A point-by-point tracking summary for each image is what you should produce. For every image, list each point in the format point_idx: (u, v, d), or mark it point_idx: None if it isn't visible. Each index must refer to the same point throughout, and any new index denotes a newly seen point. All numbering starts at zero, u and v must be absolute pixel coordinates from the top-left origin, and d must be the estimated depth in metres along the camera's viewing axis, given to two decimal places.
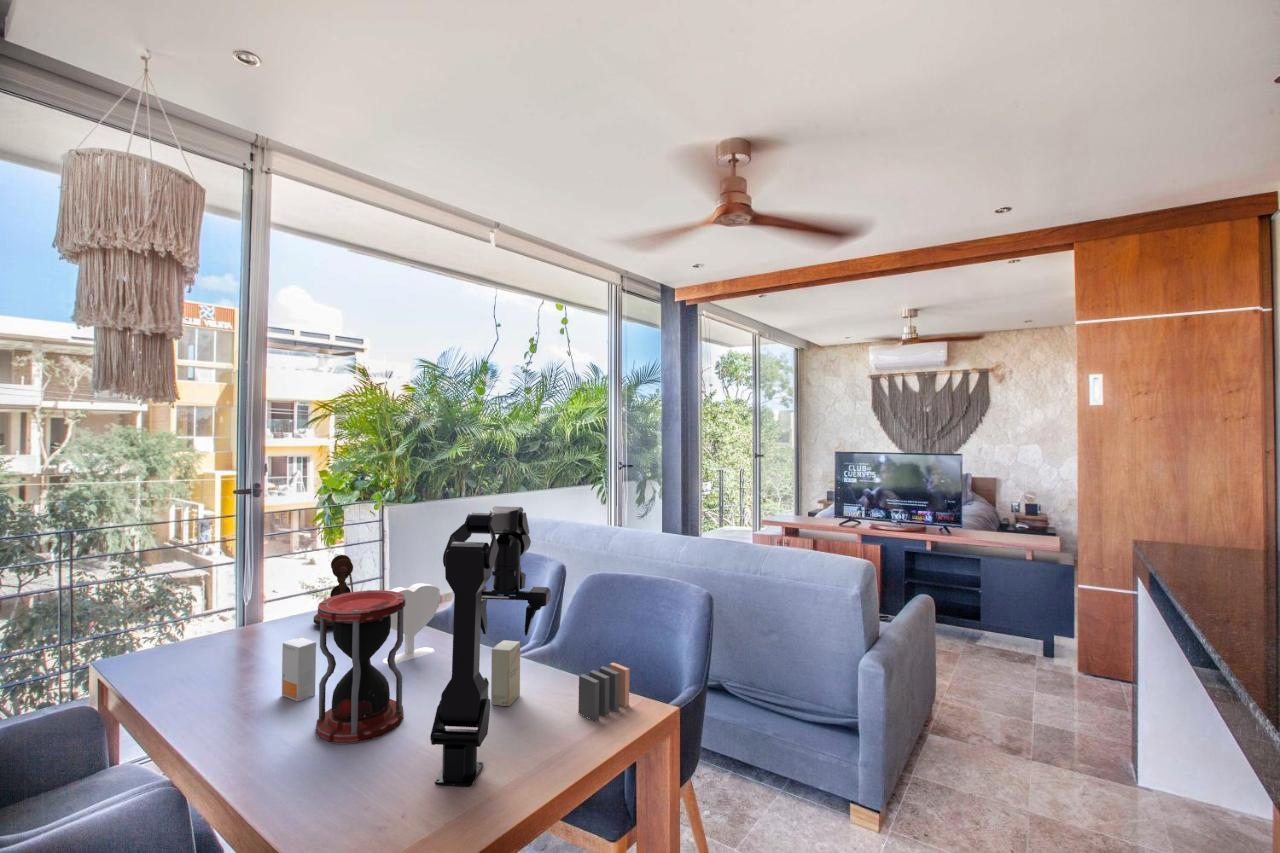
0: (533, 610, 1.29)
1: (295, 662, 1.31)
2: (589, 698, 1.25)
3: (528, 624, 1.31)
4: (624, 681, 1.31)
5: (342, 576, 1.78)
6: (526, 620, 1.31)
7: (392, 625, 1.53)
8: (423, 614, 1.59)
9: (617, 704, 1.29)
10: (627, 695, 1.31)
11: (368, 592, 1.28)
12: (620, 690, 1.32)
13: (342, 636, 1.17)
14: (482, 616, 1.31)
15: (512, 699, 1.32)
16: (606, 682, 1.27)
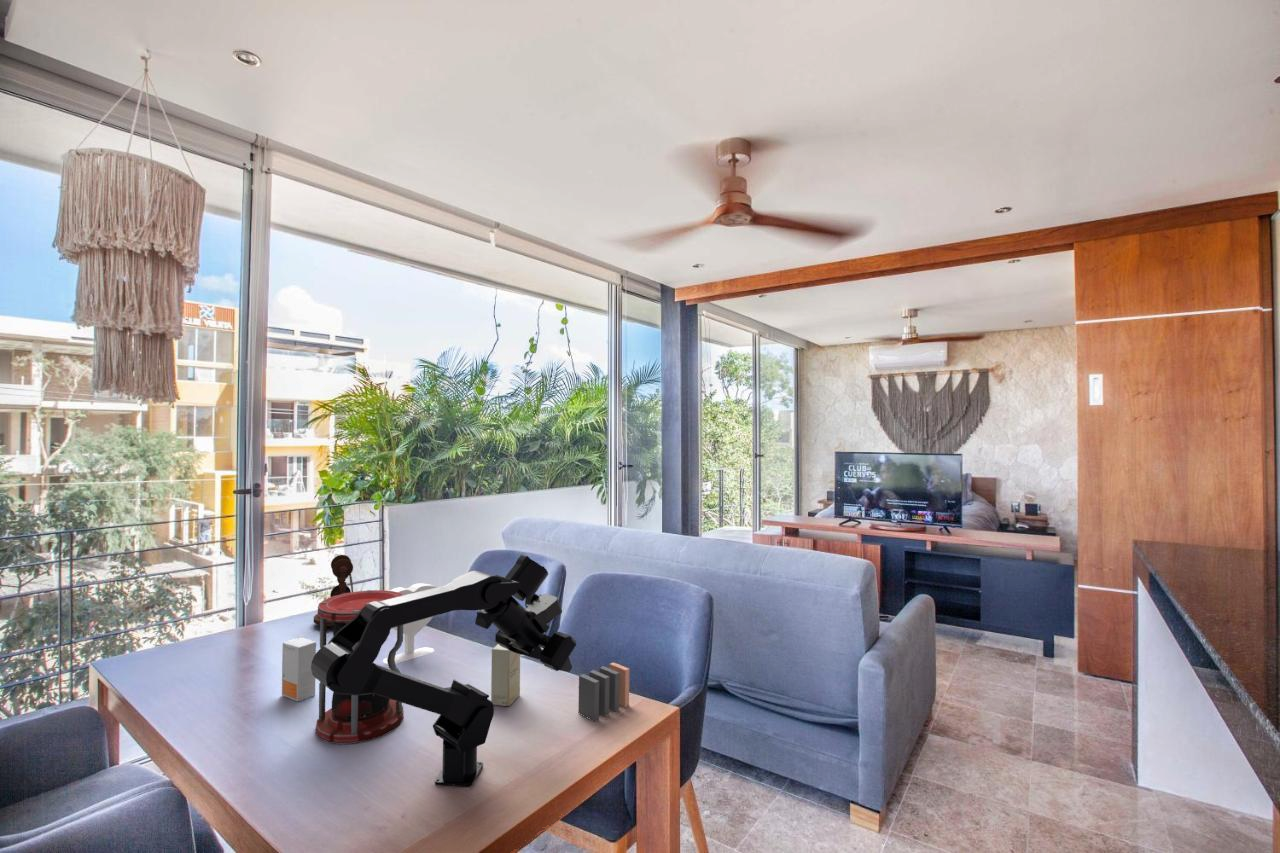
0: (551, 668, 1.11)
1: (295, 662, 1.31)
2: (589, 698, 1.25)
3: None
4: (624, 681, 1.31)
5: (342, 576, 1.78)
6: None
7: None
8: None
9: (617, 704, 1.29)
10: (627, 695, 1.31)
11: (368, 592, 1.28)
12: (620, 690, 1.32)
13: None
14: (527, 653, 1.20)
15: (512, 699, 1.32)
16: (606, 682, 1.27)
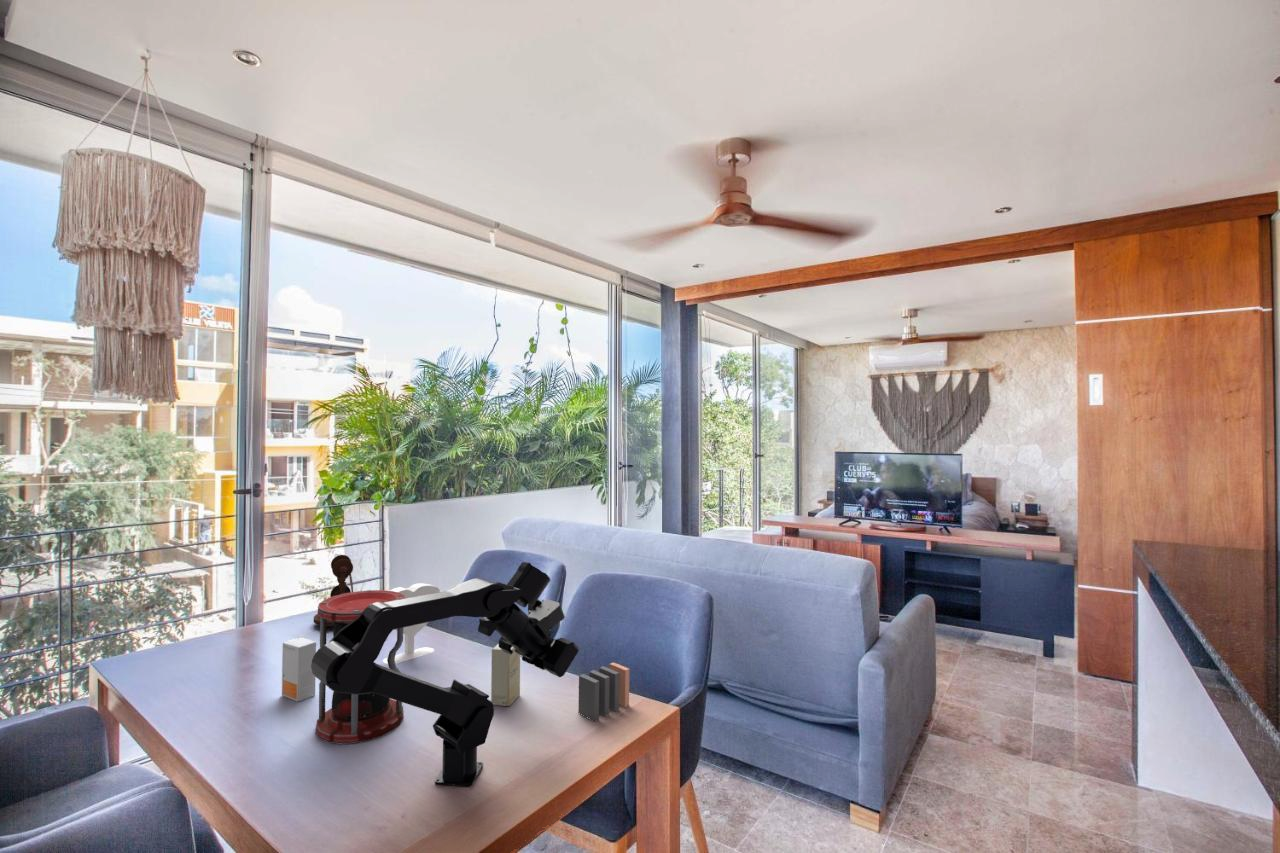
0: (541, 668, 1.14)
1: (295, 662, 1.31)
2: (589, 698, 1.25)
3: None
4: (624, 681, 1.31)
5: (342, 576, 1.78)
6: None
7: None
8: None
9: (617, 704, 1.29)
10: (627, 695, 1.31)
11: (368, 592, 1.28)
12: (620, 690, 1.32)
13: None
14: None
15: (512, 699, 1.32)
16: (606, 682, 1.27)
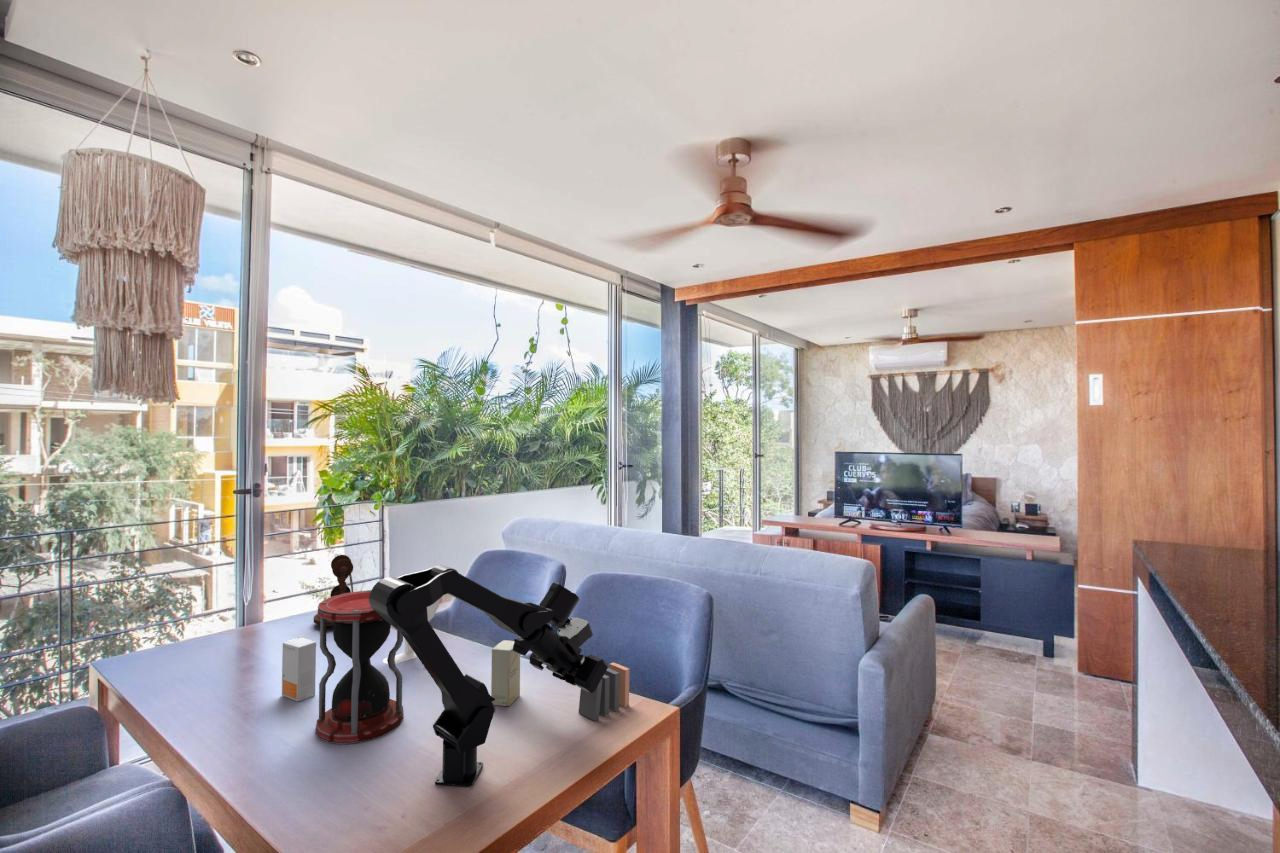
0: (572, 684, 1.20)
1: (295, 662, 1.31)
2: (591, 697, 1.26)
3: None
4: (624, 681, 1.31)
5: (342, 576, 1.78)
6: None
7: None
8: None
9: (617, 704, 1.29)
10: (627, 695, 1.31)
11: (368, 592, 1.28)
12: (620, 690, 1.32)
13: (342, 636, 1.17)
14: None
15: (512, 699, 1.32)
16: (606, 682, 1.27)
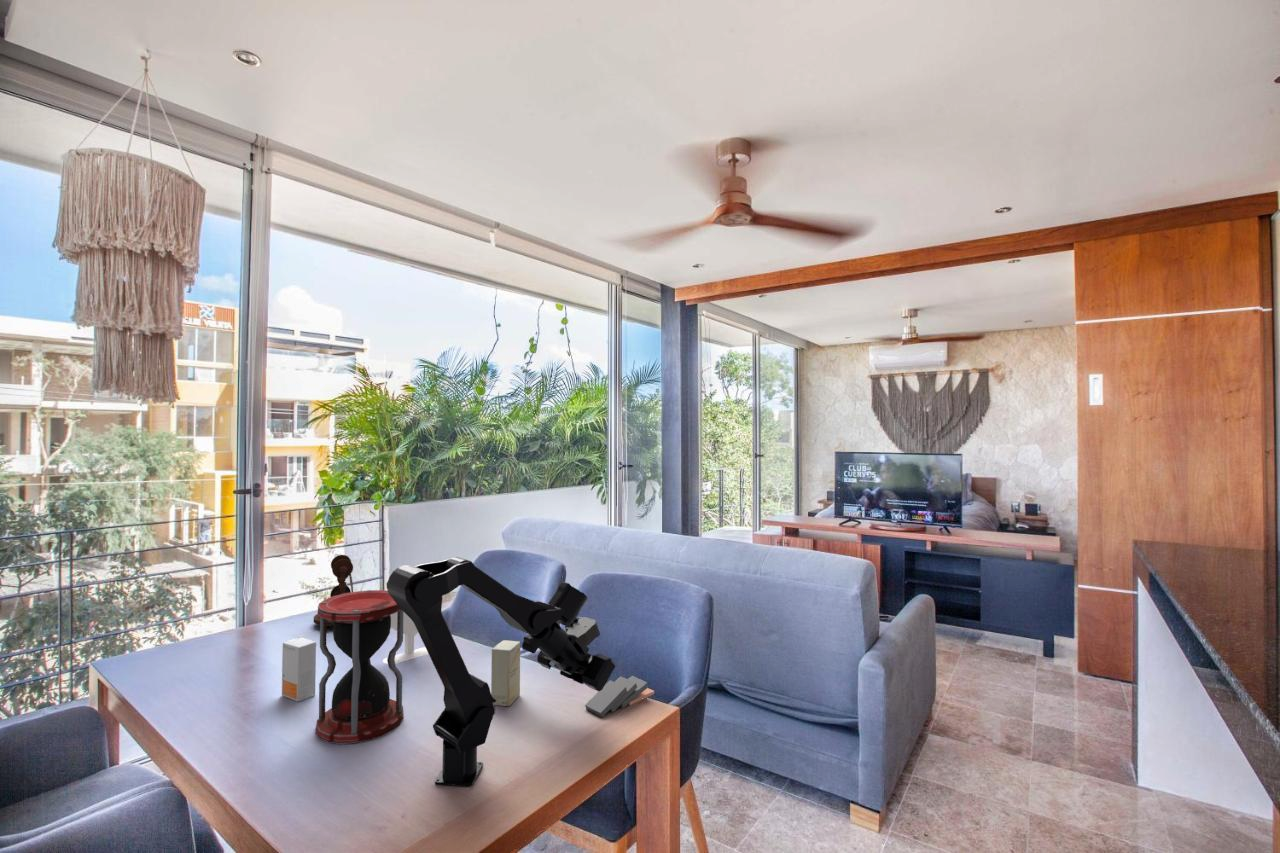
0: None
1: (295, 662, 1.31)
2: (608, 696, 1.30)
3: None
4: (645, 693, 1.36)
5: (342, 576, 1.78)
6: None
7: (392, 625, 1.53)
8: None
9: (626, 703, 1.31)
10: (637, 701, 1.33)
11: (368, 592, 1.28)
12: None
13: (342, 636, 1.17)
14: None
15: (512, 699, 1.32)
16: (633, 687, 1.32)
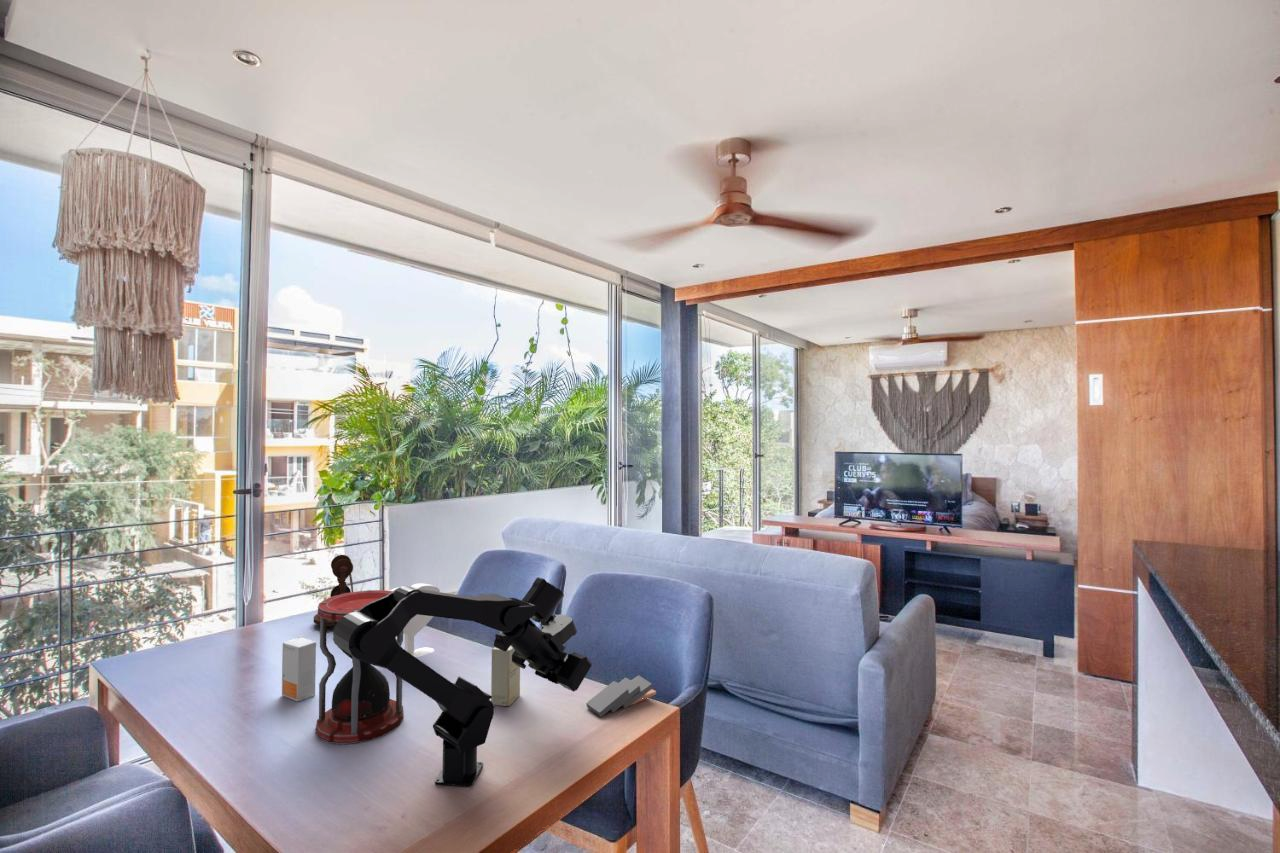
0: None
1: (295, 662, 1.31)
2: (610, 696, 1.29)
3: None
4: (647, 693, 1.36)
5: (342, 576, 1.78)
6: None
7: None
8: None
9: (629, 703, 1.31)
10: (638, 701, 1.33)
11: (368, 592, 1.28)
12: None
13: None
14: None
15: (512, 699, 1.32)
16: (636, 689, 1.32)
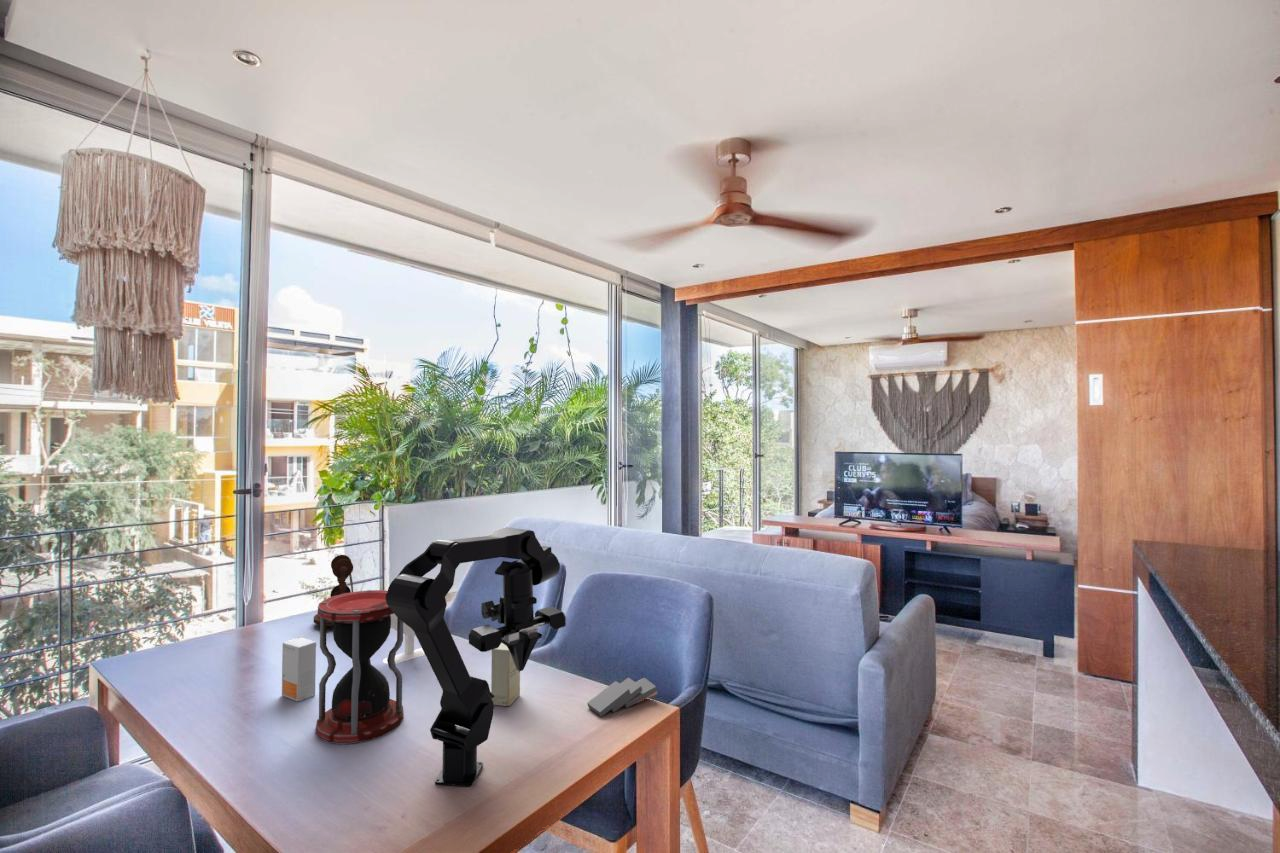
0: (537, 639, 1.18)
1: (295, 662, 1.31)
2: (611, 696, 1.29)
3: (528, 657, 1.18)
4: None
5: (342, 576, 1.78)
6: (527, 653, 1.17)
7: (392, 625, 1.53)
8: None
9: (631, 703, 1.31)
10: (639, 701, 1.34)
11: (368, 592, 1.28)
12: None
13: (342, 636, 1.17)
14: None
15: (512, 699, 1.32)
16: (637, 689, 1.32)
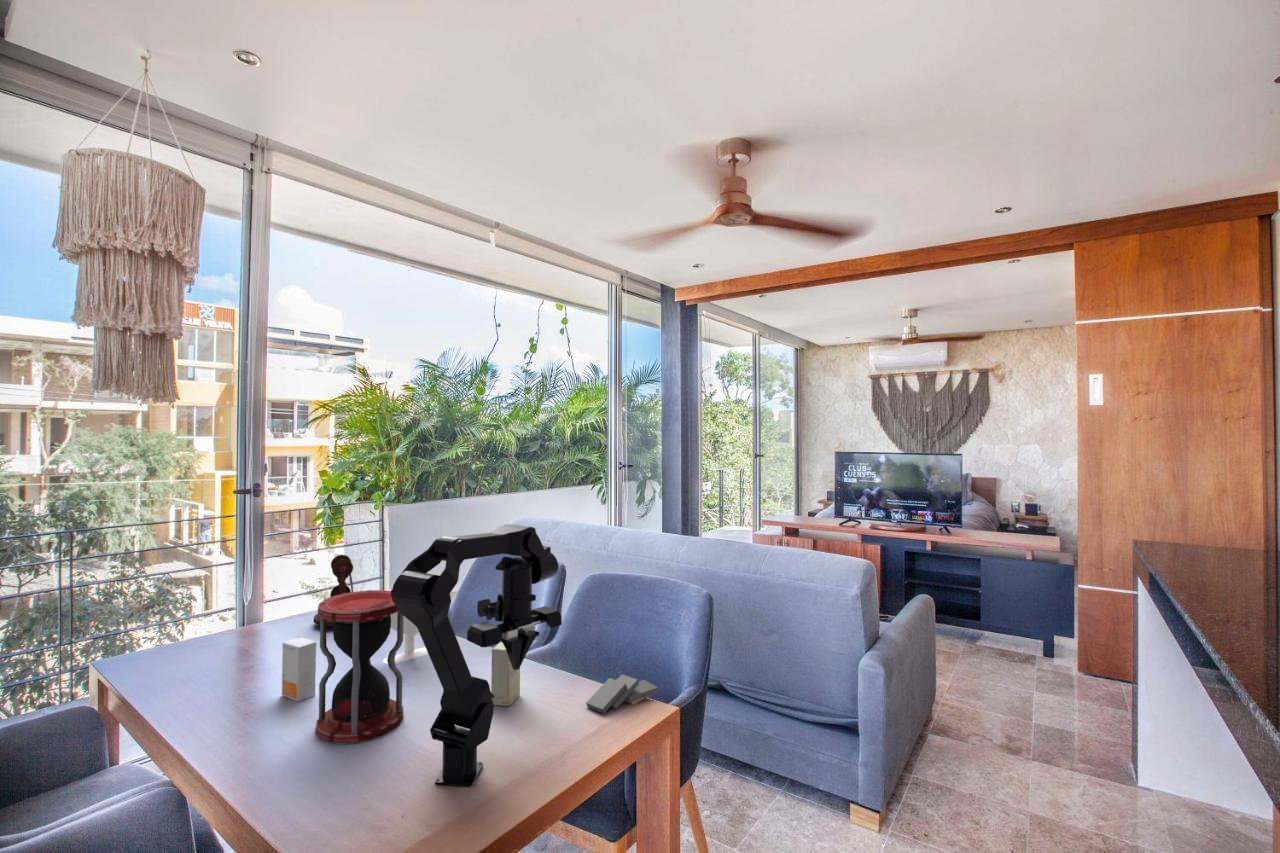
0: (534, 637, 1.18)
1: (295, 662, 1.31)
2: (609, 693, 1.31)
3: (524, 655, 1.18)
4: None
5: (342, 576, 1.78)
6: (524, 651, 1.17)
7: (392, 625, 1.53)
8: None
9: (634, 698, 1.32)
10: (639, 700, 1.34)
11: (368, 592, 1.28)
12: None
13: (342, 636, 1.17)
14: None
15: (512, 699, 1.32)
16: (635, 683, 1.34)
